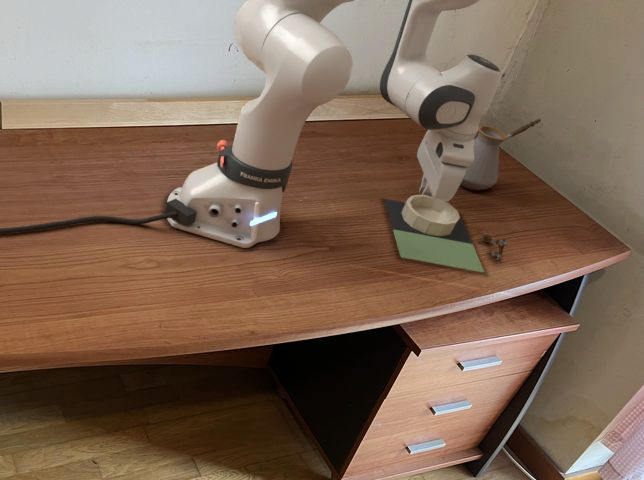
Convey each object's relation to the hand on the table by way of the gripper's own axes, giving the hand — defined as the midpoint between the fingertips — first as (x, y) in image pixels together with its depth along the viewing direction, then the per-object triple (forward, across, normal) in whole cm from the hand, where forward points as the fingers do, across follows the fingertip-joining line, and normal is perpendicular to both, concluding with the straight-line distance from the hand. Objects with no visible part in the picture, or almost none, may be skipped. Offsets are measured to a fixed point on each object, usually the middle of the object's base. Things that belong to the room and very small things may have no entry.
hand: (423, 196), depth 156 cm
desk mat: (+2, +13, 0) cm, 13 cm away
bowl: (+1, +8, 0) cm, 8 cm away
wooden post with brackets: (+2, +15, +12) cm, 19 cm away
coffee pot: (+2, -17, +19) cm, 26 cm away
